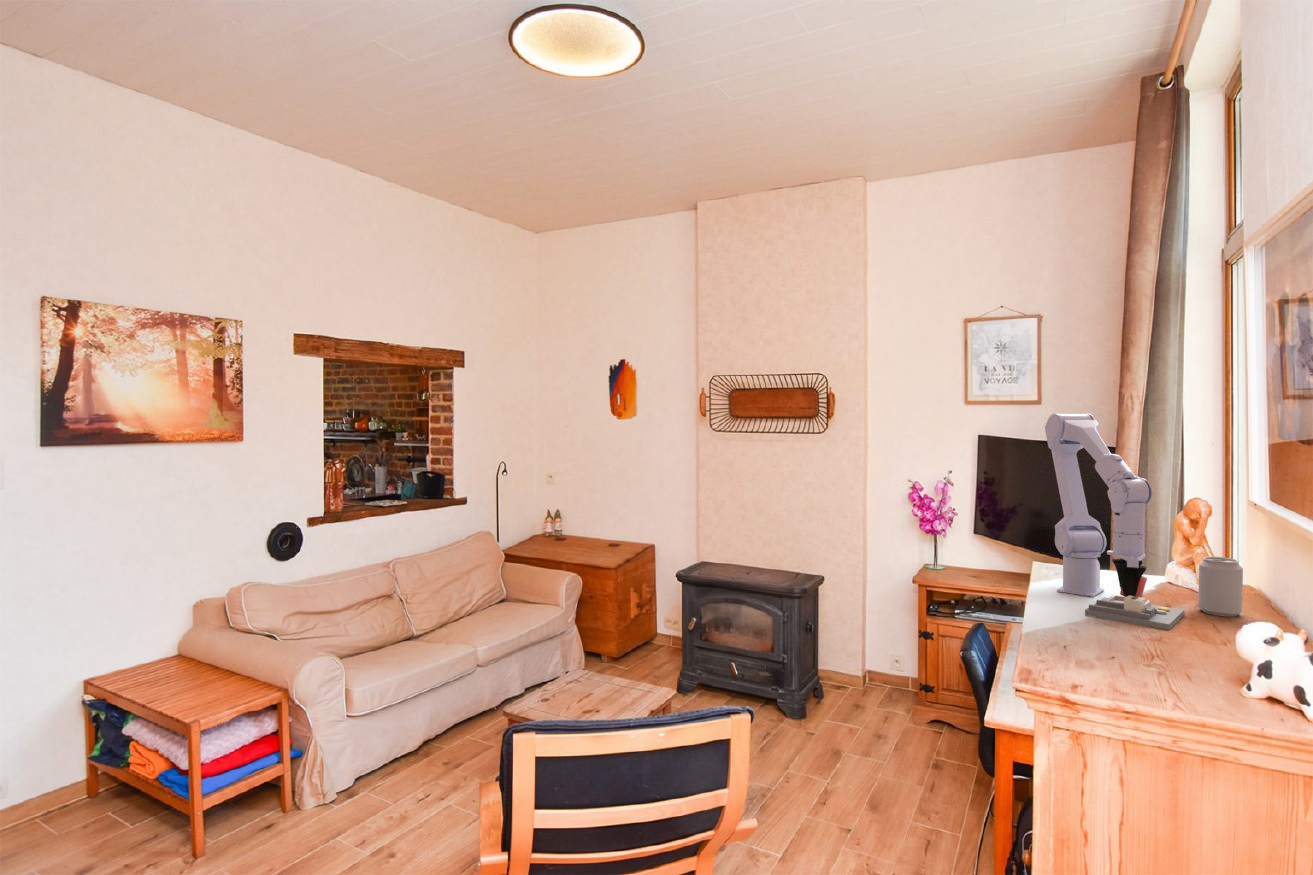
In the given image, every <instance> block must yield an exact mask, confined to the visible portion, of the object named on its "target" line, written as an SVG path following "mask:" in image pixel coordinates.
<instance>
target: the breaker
mask: <svg viewBox="0 0 1313 875" xmlns="http://www.w3.org/2000/svg"><path fill="white" fill-rule="evenodd" d="M1146 600H1147V599H1146V597H1143V596H1142V597H1137V596H1130V595H1129V596H1127V597H1126V598H1124V610H1127V611H1133V612H1139V613H1145V604H1146Z"/></svg>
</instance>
